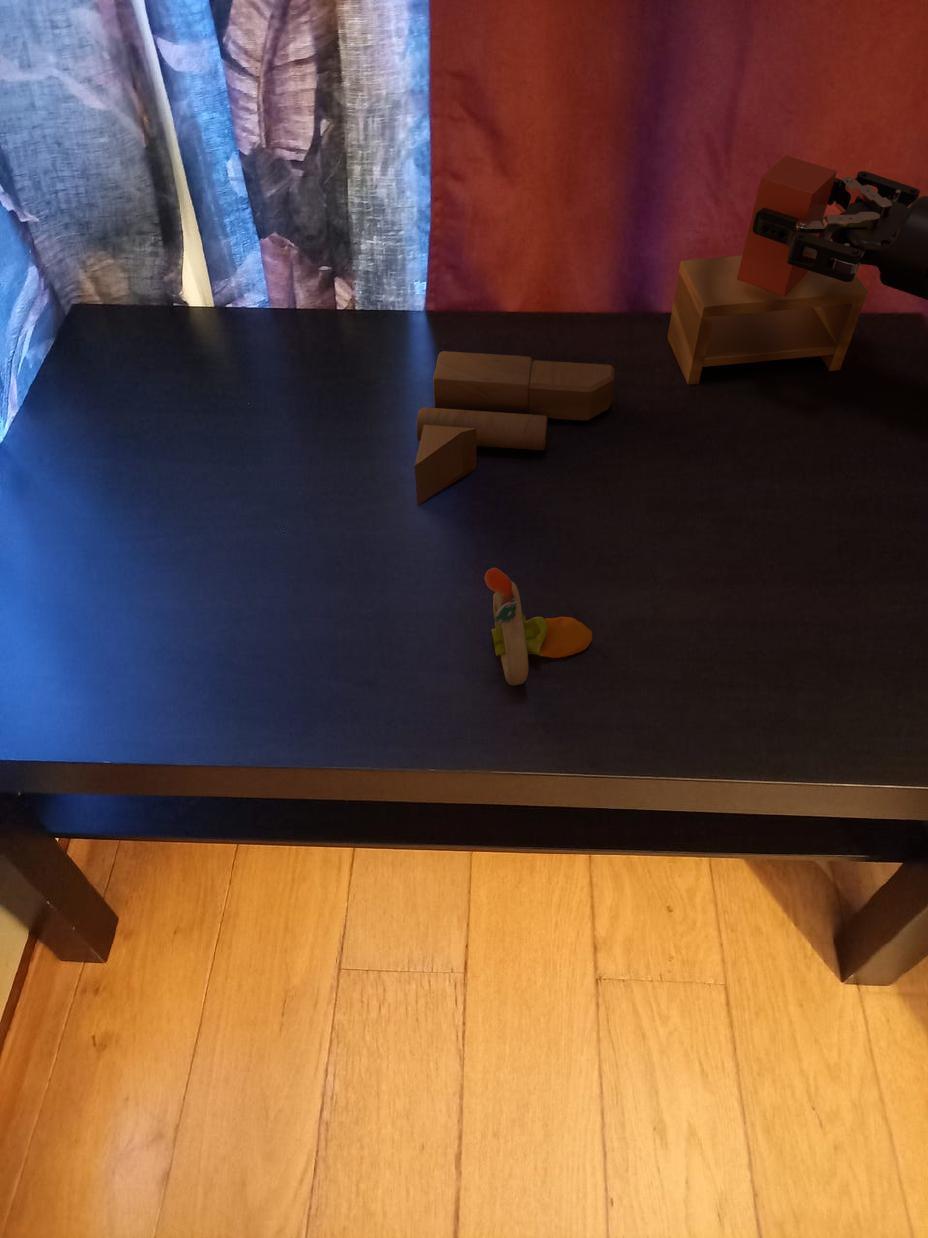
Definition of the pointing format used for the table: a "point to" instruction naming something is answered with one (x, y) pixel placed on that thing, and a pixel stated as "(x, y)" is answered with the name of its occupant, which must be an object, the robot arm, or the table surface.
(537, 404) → the wooden block set
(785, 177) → the block
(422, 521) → the table surface
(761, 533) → the table surface
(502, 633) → the rattle
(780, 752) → the table surface
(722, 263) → the shelf
